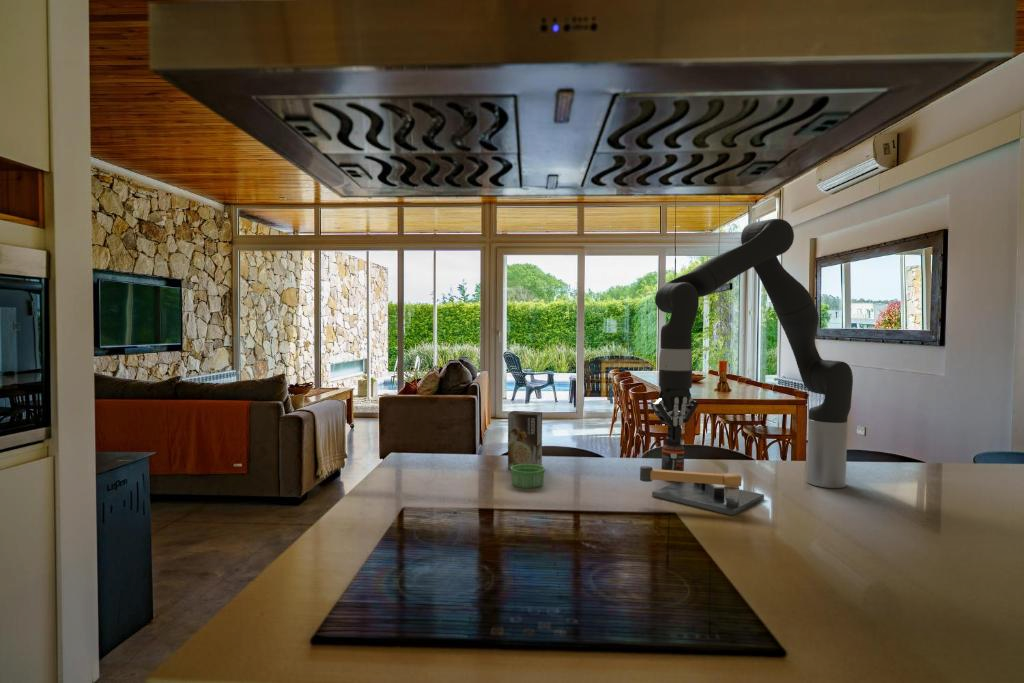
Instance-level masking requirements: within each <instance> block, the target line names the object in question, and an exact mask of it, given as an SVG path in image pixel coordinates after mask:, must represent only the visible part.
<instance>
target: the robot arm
mask: <svg viewBox="0 0 1024 683" xmlns="http://www.w3.org/2000/svg"><path fill="white" fill-rule="evenodd" d="M794 233H795V232H794V229H793V226H792V225H791V224H790V223H789V221H788V220H785V219H782V218H768V219H765V220H761V221H755V222H751V223H749V224H747V225H745V227H743V229H742V232H741V234H740V242H741V243H740V244H741V245H738V246H737V247H734V248H732V249H729V250H727V251H724V252H722V253H720V254H717V255H716V256H714V257H712V258H710V259H707V261H705V262H703V263H702V264H700V265H698V266H696V267H695V268H693V270H691V271H689V272H687V273H684V274H683V275H680V276H679V277H676V278H673V279H672V280H669V281H667V282H666V283H664V284H663V285H661V286H660V288H659V289H657V292H656V293H655V296H654V301H655V302H654V304H655V305H656V307H657V309H658V310H660V311H661V312H663V313H664V314H665V313H666V314H671V315H670V319H669V321H668V323H665V324H664V325H662V326H661V329H660V352H659V359H658V362H659V363H658V387H659V389H660V392H659V394H658V399H657V400H656V401H655V402H651V403H650V407H651V408H652V410H653V412H654V413H655V414H656V417H657V418H658V419H659V421H660V422H661V423H663V424H666V425H667V437H668V439H669V440H670V441H672V442H679V441H680V439H681V440H682V426H683V425H684V424H685V423H687V424H688V422H690V419H691V418H692V417H693V415H694V412H695V411H696V409H697V408H698V406H699V401H697V400H694V399H693V397H692V394H691V393H692V392H691V388H692V387H693V355H692V354H693V353H692V332H693V328H694V325H695V322H696V321H695V320H696V316H697V314H698V310H699V305H700V304H699V302H700V300H699V299H700V297H701V298H702V297H706V296H708V295H710V294H712V293H713V292H715V291H716V290H717V291H718V289H720V288H721V287H723V286H725V284H726V285H727V283H728V282H731V281H732V280H733V279H734V278H736V277H738V276H739V275H741V274H743V273H744V272H747V271H748V270H751V269H752V268H753V269H754V271H755V272H756V274H757V276H758V278H759V280H760V281H761V284H762V286H763V287H764V290H765V292H766V294H767V296H768V298H769V300H770V302H771V305H772V307H773V310H774V312H775V314H776V317H777V319H778V321H779V323H780V325H781V327H782V329H783V331H784V333H785V335H786V337H787V340H788V343H789V345H790V348H791V351H792V353H793V356H794V359H795V361H796V365H797V369H798V373H799V375H800V378H801V381H802V383H803V385H804V386H805V388H806V389H807V391H810V392H811V393H814V394H820V395H824V399H823V402H822V403H821V404H820V405H817V406H813V407H810V408H809V409H808V415H807V418H808V420H807V425H808V426H807V453H806V454H807V455H806V456H807V457H806V458H807V459H806V483H808V484H810V485H813V486H816V487H821V488H827V489H842V488H845V487H846V481H847V480H846V479H847V478H846V477H847V475H846V474H847V449H848V446H847V444H848V441H847V440H848V417H849V414H850V410H851V408H852V406H851V405H852V395H853V394H852V393H853V386H854V385H853V384H854V383H853V382H854V376H853V371H852V368H851V367H850V365H849V364H848V363H847V362H845V361H840V360H828V359H827V360H826V359H822V357H821V355H820V353H819V351H818V349H817V348H818V347H817V346H816V343H815V342H816V341H815V340H816V335H817V331H818V326H819V322H820V318H819V317H820V316H819V313H818V310H817V307H816V304H815V302H814V300H813V296H812V295H811V293H810V292H809V290H807V289H806V287H805V286H804V284H802V283H800V281H799V280H797V279H796V278H795V277H794V276H792V274H790V272H788V271H787V270H786V269H785V268H784V266H783V265H782V264H781V262H780V260H779V258H778V256H780V255H781V256H782V255H783V254H785V253H786V252H788V251H789V249H790V248H791V247H792V246H793V243H794V241H795V240H794V239H795V234H794Z"/></svg>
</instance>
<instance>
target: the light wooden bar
mask: <svg viewBox="0 0 1024 683" xmlns="http://www.w3.org/2000/svg"><path fill="white" fill-rule="evenodd" d="M639 470H640V471H639V481H640V482H644V483H645V482H646V483H650V482H653V480H654V481H664V482H665V481H666V482H691V483H705V484H718V485H726V486H731V487H739V488H740V487H742V475H740V474H736V473H730V472H729V473H728V472H727V473H712V472H699V471H685V470H684V471H673V470H661V469H656V468H653V467H652V466H649V465H648V466H647V465H643V466H642V465H641V466H640V468H639Z"/></svg>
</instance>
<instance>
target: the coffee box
mask: <svg viewBox="0 0 1024 683" xmlns="http://www.w3.org/2000/svg"><path fill="white" fill-rule="evenodd" d="M517 464H536V465H541V466H543V412H541V411H540V412H539V411H526V410H525V411H523V410H512V411H510V412H509V413H508V414H507V469H510V470H511V466H513V465H517Z"/></svg>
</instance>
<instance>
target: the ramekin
mask: <svg viewBox="0 0 1024 683" xmlns="http://www.w3.org/2000/svg"><path fill="white" fill-rule="evenodd" d="M545 471H546V467H545V466H543V465H542V466H541V465H536V464H517V465H513V466H511V469H510V472H511V484H512V485H513V486H514V487H517V488H523V489H533V488H540V487H542V486H543V485H544V477H545Z"/></svg>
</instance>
